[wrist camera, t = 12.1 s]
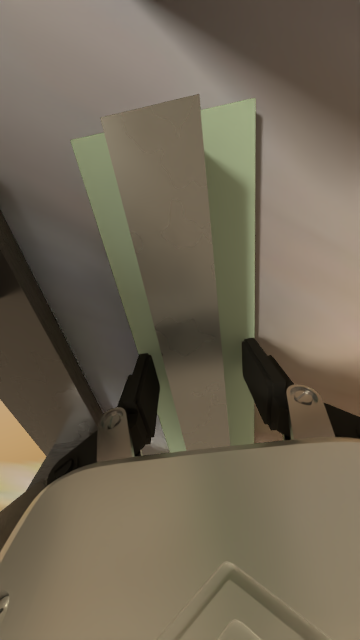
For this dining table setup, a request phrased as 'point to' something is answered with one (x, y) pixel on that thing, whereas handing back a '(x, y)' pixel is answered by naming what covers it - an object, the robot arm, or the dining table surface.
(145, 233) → the rail
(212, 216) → the mat
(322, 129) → the dining table surface
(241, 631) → the robot arm
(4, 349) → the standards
